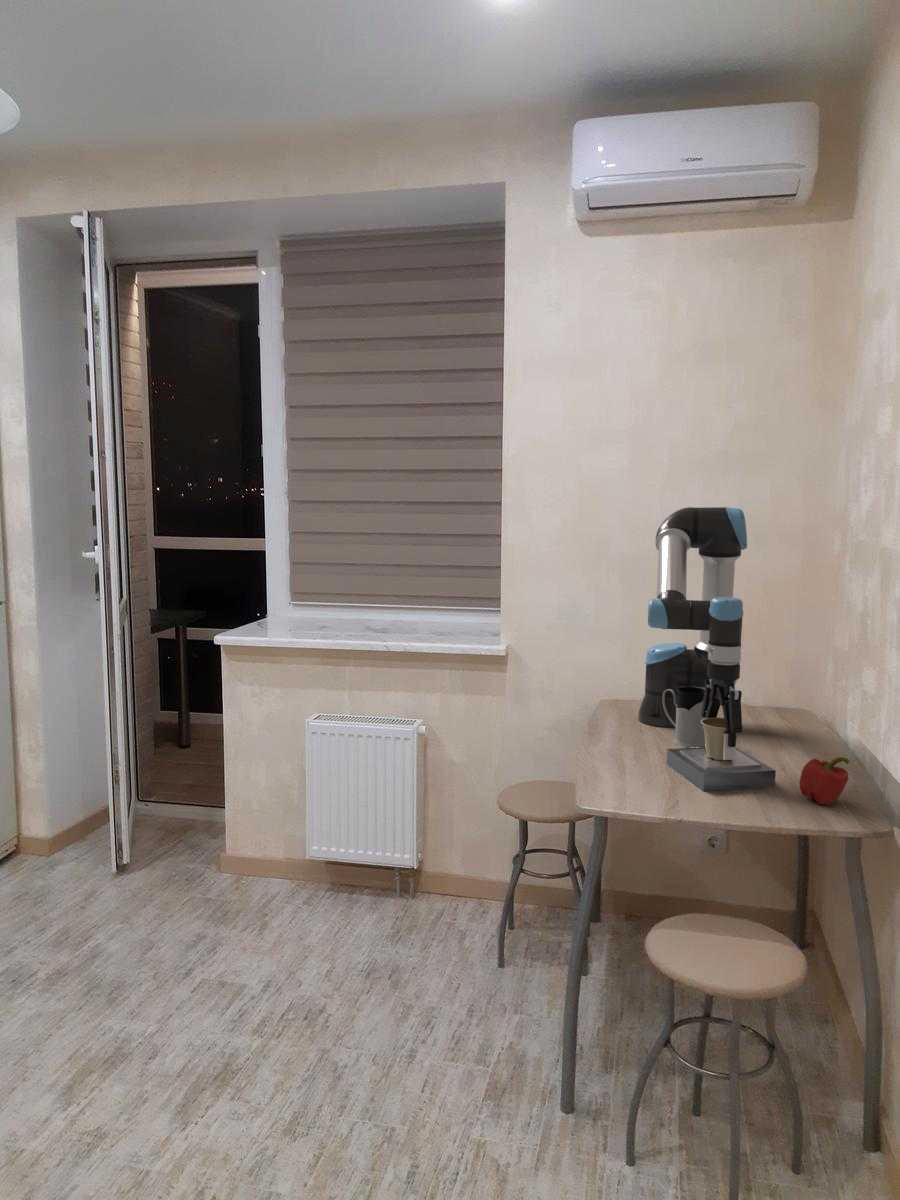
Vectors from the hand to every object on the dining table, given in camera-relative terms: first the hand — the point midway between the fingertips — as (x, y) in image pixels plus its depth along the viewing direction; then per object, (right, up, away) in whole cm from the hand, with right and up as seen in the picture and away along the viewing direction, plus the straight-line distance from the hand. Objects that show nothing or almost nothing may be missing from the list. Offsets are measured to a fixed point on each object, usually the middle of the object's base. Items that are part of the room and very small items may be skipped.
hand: (719, 753), depth 208 cm
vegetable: (+18, -8, -16) cm, 26 cm away
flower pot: (0, -1, 0) cm, 1 cm away
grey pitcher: (-1, -2, +30) cm, 30 cm away
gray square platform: (0, -5, +1) cm, 5 cm away
